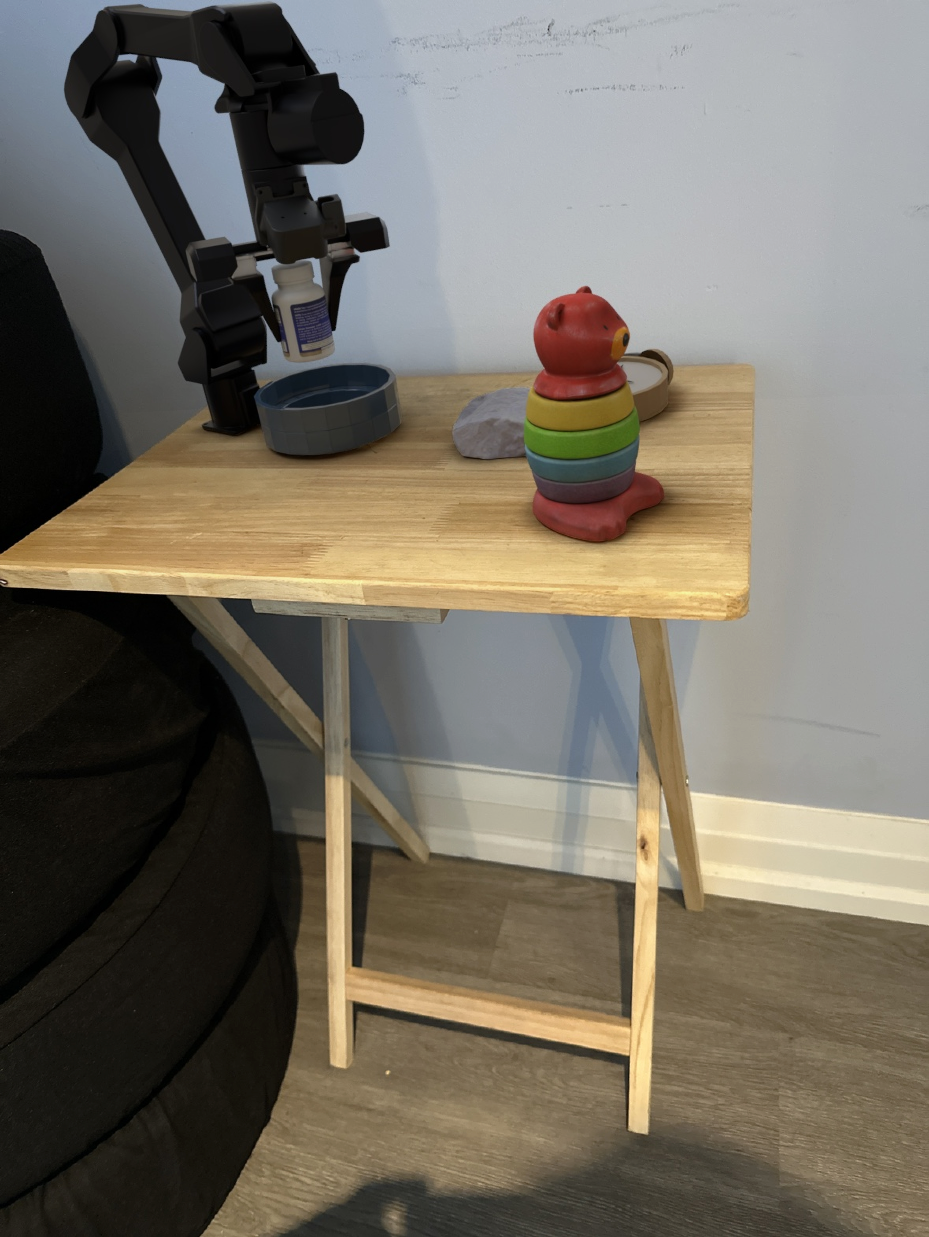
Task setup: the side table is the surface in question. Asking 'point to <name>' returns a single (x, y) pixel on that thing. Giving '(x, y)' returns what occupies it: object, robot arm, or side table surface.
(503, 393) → the stone block
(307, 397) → the bowl
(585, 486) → the stacking bear
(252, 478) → the side table surface
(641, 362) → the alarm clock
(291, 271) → the pill bottle
